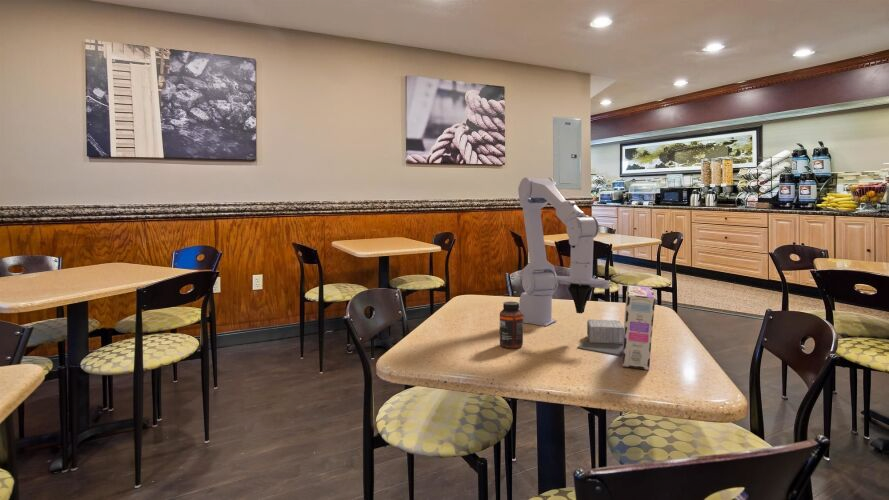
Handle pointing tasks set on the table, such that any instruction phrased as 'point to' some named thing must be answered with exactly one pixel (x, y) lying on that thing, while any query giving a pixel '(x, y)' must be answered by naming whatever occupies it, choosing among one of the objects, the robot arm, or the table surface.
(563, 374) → the table surface
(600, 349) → the mat
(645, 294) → the candy box
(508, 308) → the supplement bottle
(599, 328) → the medicine box
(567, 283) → the robot arm
